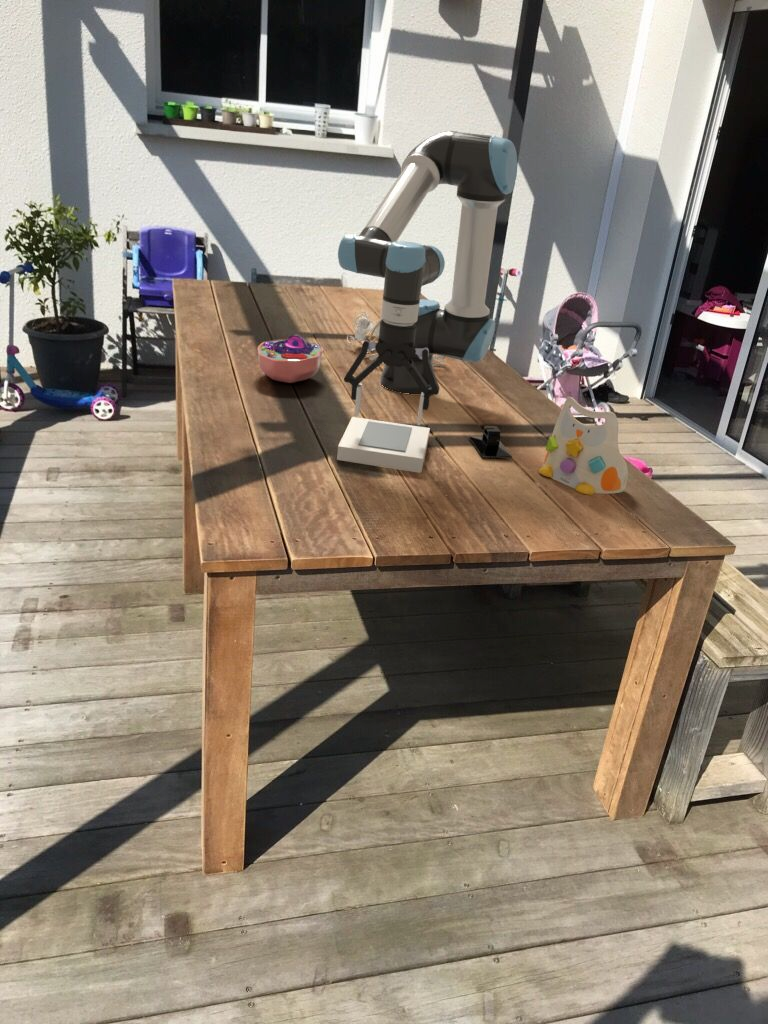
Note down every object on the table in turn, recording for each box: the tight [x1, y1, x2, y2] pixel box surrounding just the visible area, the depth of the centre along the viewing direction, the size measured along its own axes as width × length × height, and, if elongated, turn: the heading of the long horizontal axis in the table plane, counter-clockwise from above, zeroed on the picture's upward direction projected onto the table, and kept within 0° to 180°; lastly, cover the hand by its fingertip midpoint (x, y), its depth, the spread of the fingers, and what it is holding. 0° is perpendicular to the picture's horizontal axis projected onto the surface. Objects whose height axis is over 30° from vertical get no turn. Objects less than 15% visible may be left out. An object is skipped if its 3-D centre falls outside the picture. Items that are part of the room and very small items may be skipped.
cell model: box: [257, 334, 324, 384], centre depth 219 cm, size 17×20×11 cm
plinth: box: [336, 416, 431, 474], centre depth 183 cm, size 18×18×4 cm
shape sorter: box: [538, 396, 629, 496], centre depth 178 cm, size 20×10×18 cm, turn 45°
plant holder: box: [346, 309, 446, 368], centre depth 249 cm, size 28×35×16 cm
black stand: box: [468, 425, 513, 459], centre depth 191 cm, size 12×7×5 cm, turn 9°
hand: (387, 418), depth 180 cm, fingers open, 13 cm apart
